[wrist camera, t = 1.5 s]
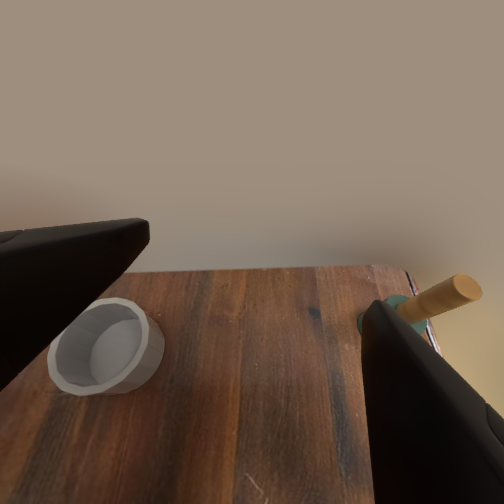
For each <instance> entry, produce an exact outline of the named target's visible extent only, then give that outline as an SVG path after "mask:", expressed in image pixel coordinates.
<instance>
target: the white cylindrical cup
mask: <svg viewBox="0 0 504 504" xmlns="http://www.w3.org/2000/svg"><path fill="white" fill-rule="evenodd" d="M164 348H165V342H164V336H163V333H162V331H161V329H160V327H159V325H158V324H157V323H156V322H154V321H153V320H152V319H151V318H150V317H149V316H148V315H147V314H146V313H145V312H144V311H143V310H142V309H141V308H140V307H139V306H137V305H136V304H135V303H134V302H132V301H129V300H125V299H122V298H107V299H100V300H97V301H95V302H93V303H92V304H91V305H90V306H89V307H88V308H87V309H86V310H85V311H84V312H82V313H81V314H80V315H79V316H78V317H77V318H76V319H75V320H74V321H73V322H72V323H71V324H70V325H69V326H68V327H67V328H66V329H65V330H64V331H63V332H62V333H61V334H60V335H59V336H58V337H57V338H55V339H54V340H53V341H52V343H51V346H50V349H49V352H48V356H47V362H48V370H49V376H50V378H51V379H52V380H53V382H54V383H55V384H56V385H57V386H58V388H59V389H60V390H62V391H64V392H67V393H70V394H74V395H77V396H111V395H119V394H125V393H128V392H131V391H133V390H135V389H137V388H139V387H140V386H142V385H143V384H144V383H146V382H147V381H148V380H149V379H150V378H151V377H152V375H153V374H154V373H155V372H156V370H157V368H158V367H159V365H160V363H161V360H162V358H163V354H164Z"/></svg>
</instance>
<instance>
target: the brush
mask: <svg viewBox="0 0 504 504" xmlns="http://www.w3.org/2000/svg"><path fill="white" fill-rule="evenodd" d="M481 296H482V290H481V287H480V286H479V285H478V283H477V282H476V281H475V280H474V279H472V278H471V277H469V276H467V275H463V274H457V275H454V276H453V277H451V278H449V279H447V280H445V281H443V282H441V283H439V284H437V285H435V286H433V287H432V288H430V289H428V290H426V291H424V292H422V293H420V294H418V295H416V296H414V297H412V298H411V299H410V298H409V297H406V296H403V295H393V296H390V297H389V298H387V299H385V300H384V301H383V302H386V303H388V304H390V305H391V306H392V307H393V308H394V309H395V310H396V311H397V312H398V313H399V314H400V315H401V316H402V317H403V318H404V319H405V320H406V321H407V322H408V323H409V324H410V325H411V326H412V327H413V328H414V329H415V330H416V331H417V332H418V333H419V334H420V335H421V334H422V333H423V332H424V331H425V329H426V326H427V320H426V319H428V318H431V317H433V316H436V315H438V314H441V313H444V312H447V311H449V310H452V309H455V308H457V307H460V306H462V305H465V304H468V303H471V302H473V301H476V300H478V299H480V298H481ZM365 312H366V311H365ZM365 312H364V313H362V314H361V315H360V316H359V318H358V329H359V332H360V334H361V336H362V318H363V315H364V314H365Z"/></svg>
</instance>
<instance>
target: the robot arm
mask: <svg viewBox="0 0 504 504" xmlns="http://www.w3.org/2000/svg"><path fill="white" fill-rule="evenodd" d="M149 240H150V232H149V223H148V221H146V220H144V219H140V218H130V219H120V220H111V221H102V222H92V223H82V224H73V225H63V226H55V227H44V228H35V229H26V230H24V231H23V230H16V231H5V232H0V392H1V391H2V390H3V389H4V388H5V387H6V386H7V385H8V384H9V383H10V382H11V381H12V380H13V379H14V378H15V377H16V376H17V375H18V373H20V372H21V371H22V370H23V369H24V368H25V367H26V366H27V365H28V364H30V363H31V362H32V361H33V360H34V359H35V358H36V357H37V356H38V355H39V354H40V353H41V352H42V351H43V350H44V349H45V348H46V347H47V346H48V345H49V344H50V343H51V342H52V341H53V340H54V339H55V338H57V337H58V336H59V335H60V334H61V333H62V332H63V331H64V330H65V329H66V328H67V327H68V326H69V325H70V324H71V323H72V322H73V321H74V320H75V319H76V318H77V317H78V316H79V315H80V314H81V313H82V312H84V311H85V310H86V309H87V308H88V307H89V306H90V305H91V304H92V303H93V302H94V301H95V300H96V299H97V298H98V297H99V296H100V295H101V294H102V293H103V292H104V291H105V290H106V289H107V288H108V287H109V286H111V285H112V284H113V283H114V282H115V281H116V280H117V279H118V278H119V277H120V276H121V275H122V274H123V273H124V272H125V271H126V270H127V268H128V267H129V266H130V265H131V264H132V263H133V261H134V260H135V259H136V258H137V257H138V255H139V254H140V253H141V252H142V251H143V249H144V248H145V247H146V246H147V245H148V243H149ZM361 363H362V374H363V385H364V395H365V406H366V416H367V426H368V437H369V447H370V458H371V468H372V479H373V489H374V500H375V504H504V419H503V418H502V417H501V416H500V415H499V414H498V413H497V412H496V411H495V410H494V409H493V408H492V407H491V406H490V405H489V404H488V403H486V401H485V400H484V399H483V398H482V397H481V396H480V395H479V394H478V393H477V392H476V391H475V390H474V389H473V388H472V387H471V386H470V385H469V384H468V383H467V382H466V381H465V380H464V379H463V378H462V377H461V376H460V375H459V374H458V373H457V372H456V371H455V370H454V369H453V368H452V367H451V366H450V365H449V364H448V363H447V362H446V361H445V360H444V359H443V358H442V357H441V356H440V355H439V354H438V353H437V352H436V351H435V350H434V349H433V348H432V347H431V346H430V345H429V344H428V343H427V342H426V340H425V339H424V338H423V337H422V336H421V335H420V334H419V333H418V332H417V331H416V330H415V329H414V328H413V327H412V326H411V325H410V324H409V323H408V322H407V321H406V320H405V319H404V318H403V317H402V316H401V315H400V314H399V313H398V312H397V311H396V310H395V309H394V308H393V307H392V306H391V305H390V304H388V303H386V302H383V301H380V300H375V301H374V302H373V303H372V304H371V305H370V307H369V308H368V309H367V311H366V312H365V314H364V315H363V318H362V340H361Z"/></svg>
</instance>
